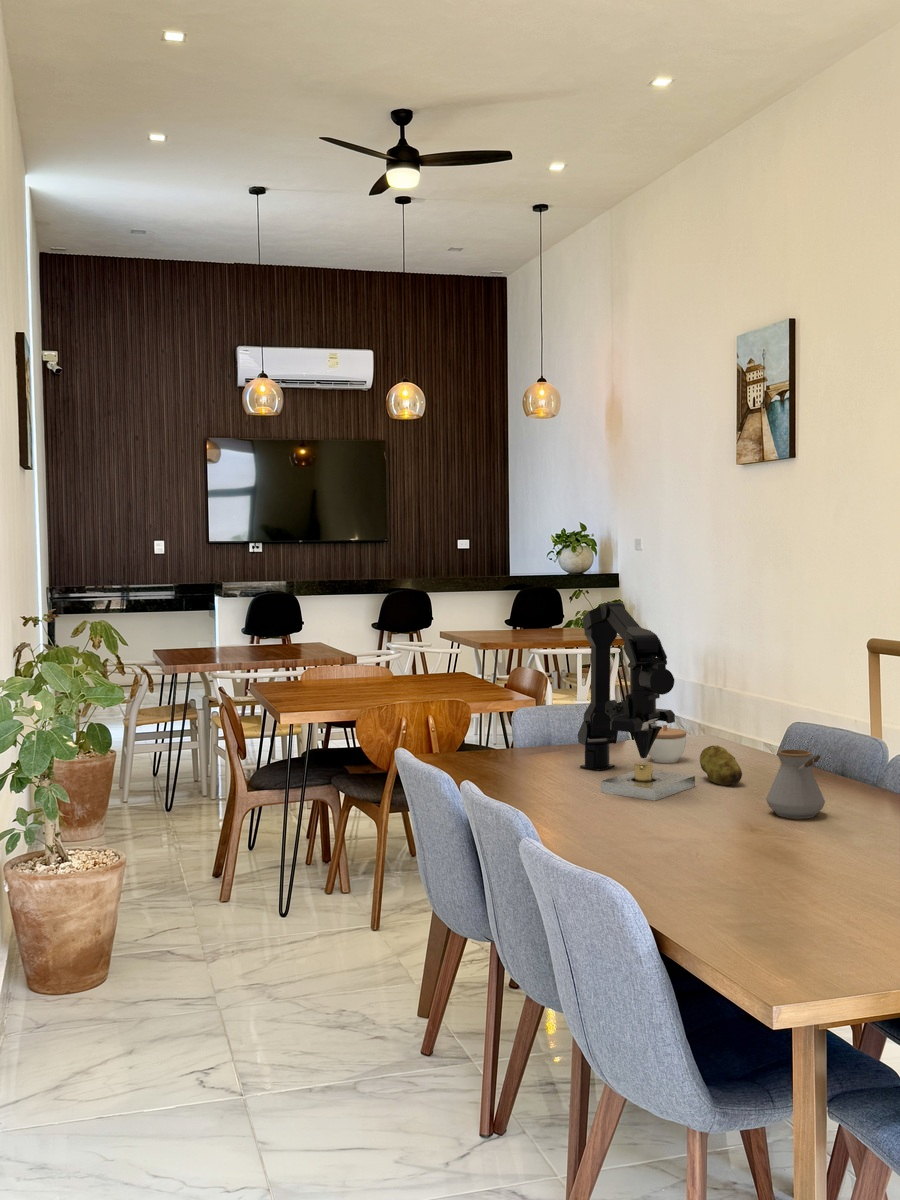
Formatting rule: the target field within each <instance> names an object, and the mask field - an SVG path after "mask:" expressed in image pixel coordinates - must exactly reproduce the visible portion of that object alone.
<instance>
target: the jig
mask: <svg viewBox="0 0 900 1200" xmlns="http://www.w3.org/2000/svg"><path fill="white" fill-rule="evenodd" d="M599 785H600V787H599V788H600V789H599V790H600V793H603V794H609V795H617V796H622V797H623V796H625V797H628V798H636V799H640V800H641V799H643V800H648V801H657V800H660V799H664V798H667V797H670V796H672V795H675V794H678V793H681V792H683V791H686V790H689V789H692V788H695V787H696V775H692V774H685V773H677V772H670V771H662V770H655V769H652V782H648V783H644V782H635V770H633V771H629V772H627V773H623V774H619V775H617V776H613V777H609V778H607V779H603V780H600V783H599Z"/></svg>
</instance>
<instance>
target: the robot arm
mask: <svg viewBox="0 0 900 1200" xmlns="http://www.w3.org/2000/svg"><path fill="white" fill-rule="evenodd" d="M582 627H583V631H584V636H585V637H586V640H587V642H588V643H589V645H590V703H589V704H588V707H586V709H585V711H584V714H583V721H582V723H581V725H580V728H579V730H578V733H577V741H578V743H579V744H581V745H583V746H584V764H581V765H580V768H581V769H589V770H595V771H605V770H608V769H611V768H614V767H615V764H612V763H610V744H617V741H618V733H619V732H623V733H624V732H626V733H629V734H631V736H632V737H633V740H634V742H635V745H636V748H637V750H638V754H639V756H640V759H647V757H648V755H649V754H648V753H649V751H650V749H651V747H652V745H653V743H654V741H655V739H656V737H657V735H658V733H659V731H660V729H662V728H663V726H659V725H658V723H657V722H658V721H659V722H666V724H672V723H675V722H676V715H675V714H676V713H674V711H673V710H672V709H664V708H657V699H660V698H661V697H660V695H662V696H664V695H667V694H669V693H670V692H671V691H672V689H674V685H675V677H674V675H673V673H672V672H671V671H670V670H669V669H667V667H666V665H668V660H667V659H668V656H667V654H666V651H665V649H664V648H663V645H662V642H661V639H660V638H659V637H658V635H657V634H656V633H655V632H653V631H652V630H650V629H647V628H644V627H642V626H640V625H639V623H638V622H637V621H636V620H635V618H634V617H632V615H631V614H630V613H629V612H628V611H627V609H626V606H625V603H623V602H605V603H602V604H601V605H600V606H598V607H596V608H593V609H591V610H588V611H587V612H586V613H585V615H584V616H583V617H582ZM617 636H619V637H620V639H622V641H623V648H622V649H623V651H624V654H625V655H626V657H627V658H628V660H629V662H628V664H627V667H628V668H629V692H630V693H626V695H625V697H624V698H625V699H624V700H622V701H620V702H617V700H616V699H611V647H612V645H613V643H614V642H615V640H616V638H617Z"/></svg>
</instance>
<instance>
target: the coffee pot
mask: <svg viewBox="0 0 900 1200" xmlns="http://www.w3.org/2000/svg"><path fill="white" fill-rule="evenodd" d="M777 754H778V756H779V757H780V760H781V761H782V762H781V764H780V766H779V769H778V771H777V773H776V775H775V777H774V780H773V782H772V784H771V787H770V789H769V791H768V794H767V796H766V797H765V800H766V803H767V805H768V807H769V808H770V809H771V810H772V811H774V812H775V815H777V816H779V817H781V818H782V817H783V818H787V819H801V820H802V819H811V818H814V817H816V815H817V814H819V813H820V812H821V811H822V810H823V808H824V806H825V804H826V801H825V799H824V796H823V794H822V792H821V789H820V787H819V784H818V781H817V779H816V777H815V775H814V772H813V771H812V768H811V766H813V765H815V766H817V767H821V766H823V765H825V763H826V761H825V758H824V757H822V756H821V755H819V754H818V755H813V756H812V754H813V753H812V751H808V750H803V749H782V750H779V751H778V752H777ZM810 756H812V758H810ZM821 759H822V760H823V763H822V764H816V763H817V762H819V760H821Z"/></svg>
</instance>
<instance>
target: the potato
mask: <svg viewBox="0 0 900 1200" xmlns="http://www.w3.org/2000/svg"><path fill="white" fill-rule="evenodd" d="M699 764H700V769H701V770H702V771H703V772H704V773H705V774H706V776H707V778H708V779H709V781H711V782H713V783H714V784H718V785H722V786H723V785H724V786H734V785H736V784H738V783H739V782H740V781H741V780H742V777H743V773H742V769H741V767H740V765H739V763H738V761H737V760H736V757H735V756H733V755H732V754H731V753H730V752H729V751H728V750H727V749H726V748H725V747H722V746H720V745H710V746H707V747H704V748H703V750H702V751H701V752H700V755H699Z"/></svg>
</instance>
